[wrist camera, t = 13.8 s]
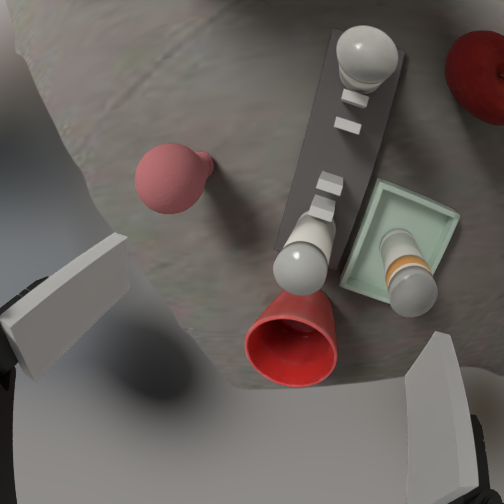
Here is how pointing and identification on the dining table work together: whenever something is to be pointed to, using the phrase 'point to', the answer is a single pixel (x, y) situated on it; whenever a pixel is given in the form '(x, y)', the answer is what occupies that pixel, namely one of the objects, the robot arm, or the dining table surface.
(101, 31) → the dining table surface
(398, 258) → the cylinder
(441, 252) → the tray
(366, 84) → the white rounded cylinder
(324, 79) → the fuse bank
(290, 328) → the flower pot
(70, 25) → the dining table surface
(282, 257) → the fuse
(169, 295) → the dining table surface
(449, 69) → the apple
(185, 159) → the light bulb
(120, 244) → the robot arm
